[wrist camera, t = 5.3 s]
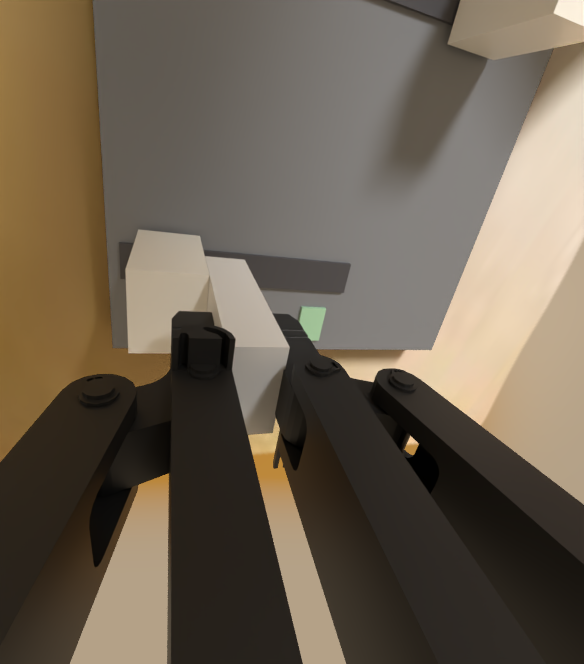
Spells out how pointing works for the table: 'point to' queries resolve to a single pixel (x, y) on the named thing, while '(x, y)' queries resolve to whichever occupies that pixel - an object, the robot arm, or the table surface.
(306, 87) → the switch panel
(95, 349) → the table surface
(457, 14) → the knob
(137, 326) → the knob
